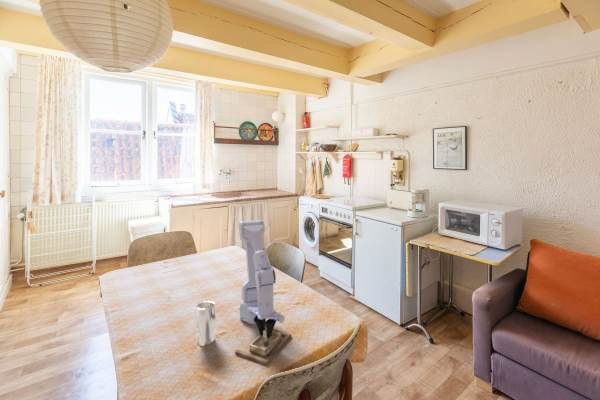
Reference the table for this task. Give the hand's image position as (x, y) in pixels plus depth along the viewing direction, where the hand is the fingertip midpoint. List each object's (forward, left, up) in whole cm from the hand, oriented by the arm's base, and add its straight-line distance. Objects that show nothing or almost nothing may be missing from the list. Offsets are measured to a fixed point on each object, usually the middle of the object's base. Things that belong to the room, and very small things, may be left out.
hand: (265, 335), depth 109 cm
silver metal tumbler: (-22, -7, -5) cm, 24 cm away
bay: (-1, 0, -5) cm, 5 cm away
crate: (0, 0, -4) cm, 4 cm away
